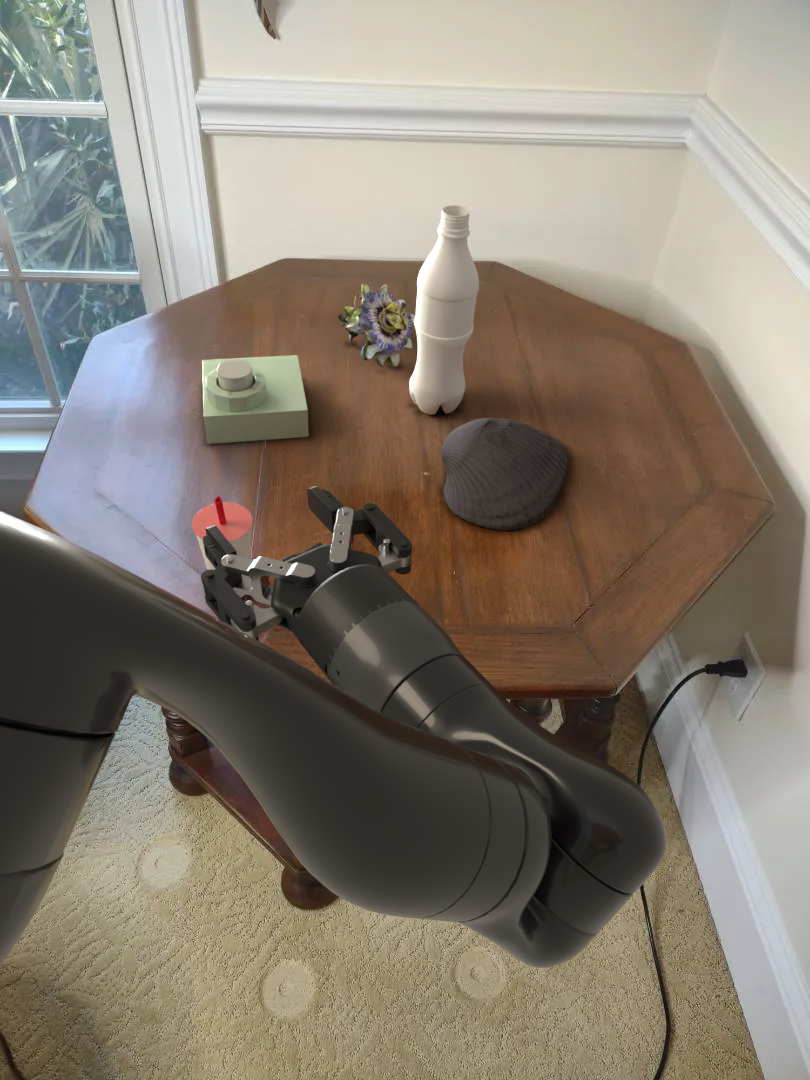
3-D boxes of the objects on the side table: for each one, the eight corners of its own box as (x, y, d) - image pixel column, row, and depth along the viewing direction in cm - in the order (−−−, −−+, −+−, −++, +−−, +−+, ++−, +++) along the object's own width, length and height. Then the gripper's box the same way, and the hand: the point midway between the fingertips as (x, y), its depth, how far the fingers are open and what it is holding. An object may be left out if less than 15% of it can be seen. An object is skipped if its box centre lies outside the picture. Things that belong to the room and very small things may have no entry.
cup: (227, 616, 73) (213, 525, 65) (193, 587, 76) (174, 495, 67) (270, 587, 76) (262, 496, 68) (236, 559, 79) (223, 468, 70)
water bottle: (470, 397, 101) (498, 206, 84) (450, 426, 97) (474, 230, 79) (421, 382, 103) (438, 192, 85) (398, 409, 98) (411, 214, 81)
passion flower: (390, 396, 110) (380, 364, 98) (328, 360, 112) (310, 324, 100) (432, 331, 111) (426, 292, 99) (369, 297, 112) (356, 254, 101)
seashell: (410, 508, 89) (408, 458, 83) (491, 416, 99) (496, 365, 93) (518, 560, 84) (525, 511, 78) (593, 457, 94) (604, 407, 88)
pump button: (219, 394, 89) (217, 379, 88) (218, 375, 92) (216, 360, 90) (254, 392, 90) (252, 377, 88) (252, 373, 92) (250, 358, 91)
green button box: (207, 444, 91) (201, 402, 87) (206, 386, 99) (200, 345, 95) (308, 436, 93) (307, 395, 89) (298, 381, 102) (297, 341, 97)
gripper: (473, 565, 50) (340, 445, 59) (279, 662, 43) (164, 509, 53) (463, 641, 55) (342, 518, 64) (288, 738, 48) (182, 586, 58)
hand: (262, 515), depth 59 cm, fingers open, 8 cm apart
